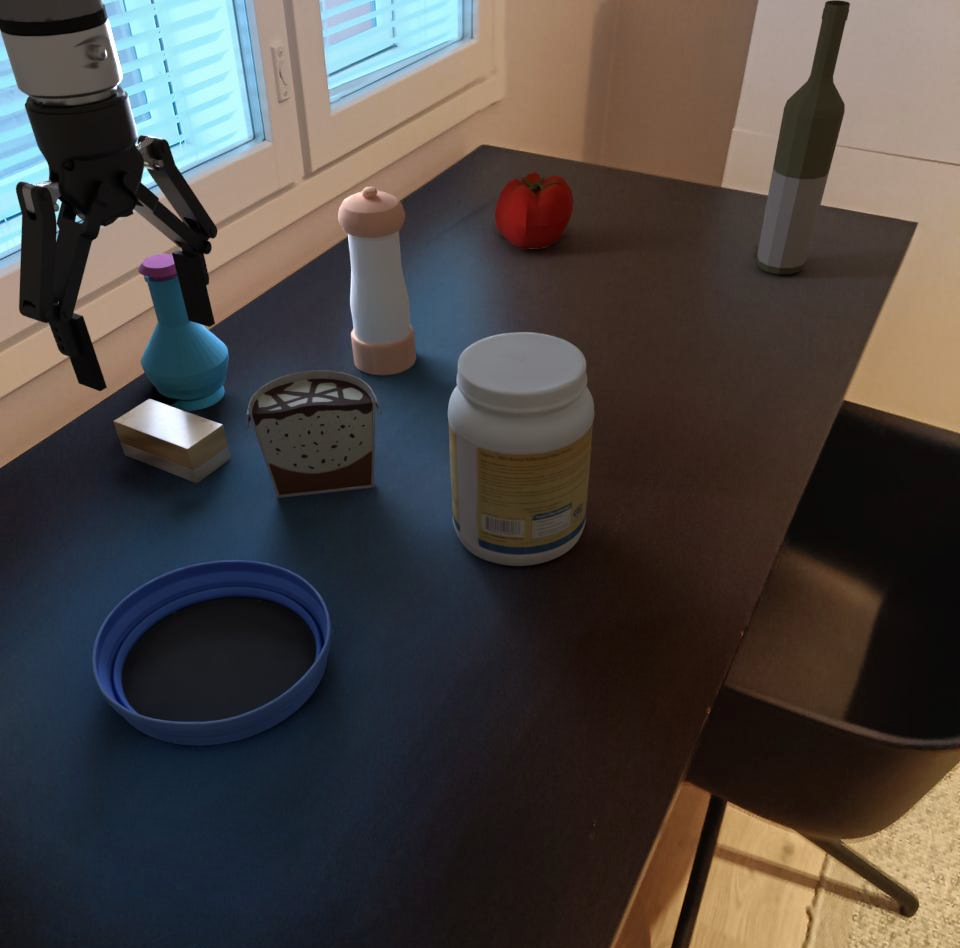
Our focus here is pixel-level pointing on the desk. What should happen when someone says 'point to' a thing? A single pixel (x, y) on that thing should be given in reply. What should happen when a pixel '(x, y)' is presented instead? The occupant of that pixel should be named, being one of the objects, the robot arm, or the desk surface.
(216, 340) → the perfume bottle
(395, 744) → the desk surface
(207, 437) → the eraser
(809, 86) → the bottle
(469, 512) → the supplement tub
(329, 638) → the blue ring
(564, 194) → the tomato
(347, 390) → the food container
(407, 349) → the pepper shaker
